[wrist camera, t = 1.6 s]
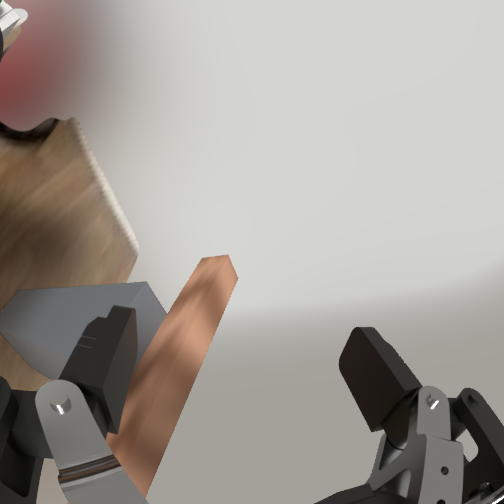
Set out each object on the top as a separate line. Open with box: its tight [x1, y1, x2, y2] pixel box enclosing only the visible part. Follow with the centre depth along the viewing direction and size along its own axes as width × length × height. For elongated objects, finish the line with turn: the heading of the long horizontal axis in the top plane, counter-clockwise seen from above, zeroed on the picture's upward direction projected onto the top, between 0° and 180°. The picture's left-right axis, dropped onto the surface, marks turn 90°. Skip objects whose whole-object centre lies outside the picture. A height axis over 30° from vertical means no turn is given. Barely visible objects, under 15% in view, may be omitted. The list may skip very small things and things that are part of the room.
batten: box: [67, 255, 238, 504], centre depth 17 cm, size 26×3×3 cm, turn 142°
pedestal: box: [0, 282, 167, 380], centre depth 24 cm, size 8×10×32 cm
